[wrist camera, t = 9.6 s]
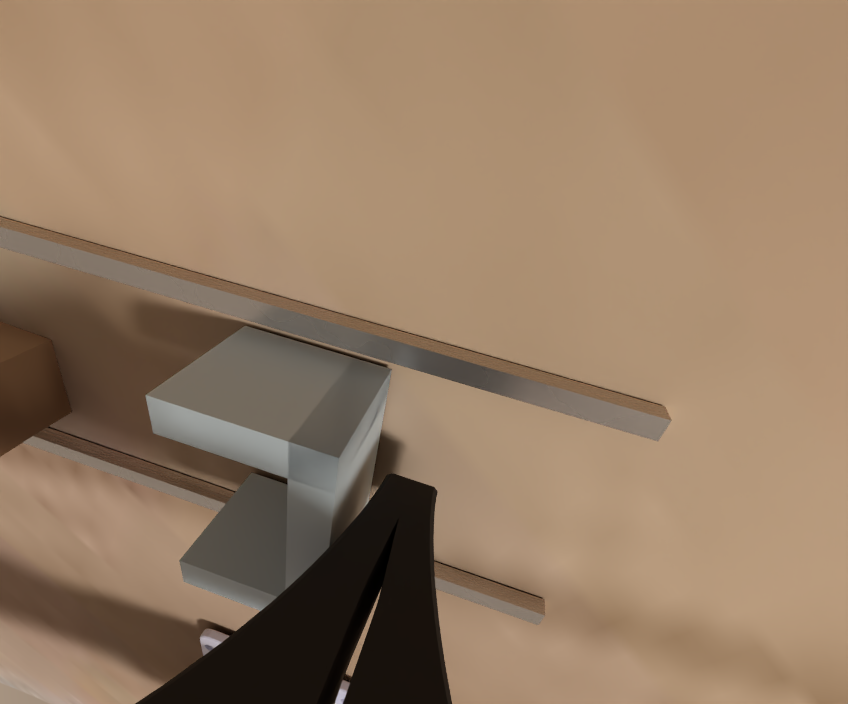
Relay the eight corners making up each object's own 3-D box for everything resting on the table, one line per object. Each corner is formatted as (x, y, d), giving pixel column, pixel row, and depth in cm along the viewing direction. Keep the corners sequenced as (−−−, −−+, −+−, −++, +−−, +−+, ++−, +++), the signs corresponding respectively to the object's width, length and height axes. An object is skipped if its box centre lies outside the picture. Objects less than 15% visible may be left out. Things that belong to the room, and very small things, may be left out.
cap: (363, 531, 14) (319, 633, 11) (252, 492, 14) (183, 581, 11) (392, 368, 10) (338, 458, 8) (245, 325, 11) (145, 395, 8)
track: (538, 609, 14) (538, 625, 13) (-171, 361, 17) (-189, 368, 16) (665, 406, 9) (671, 420, 9) (-331, 122, 12) (-361, 122, 12)
